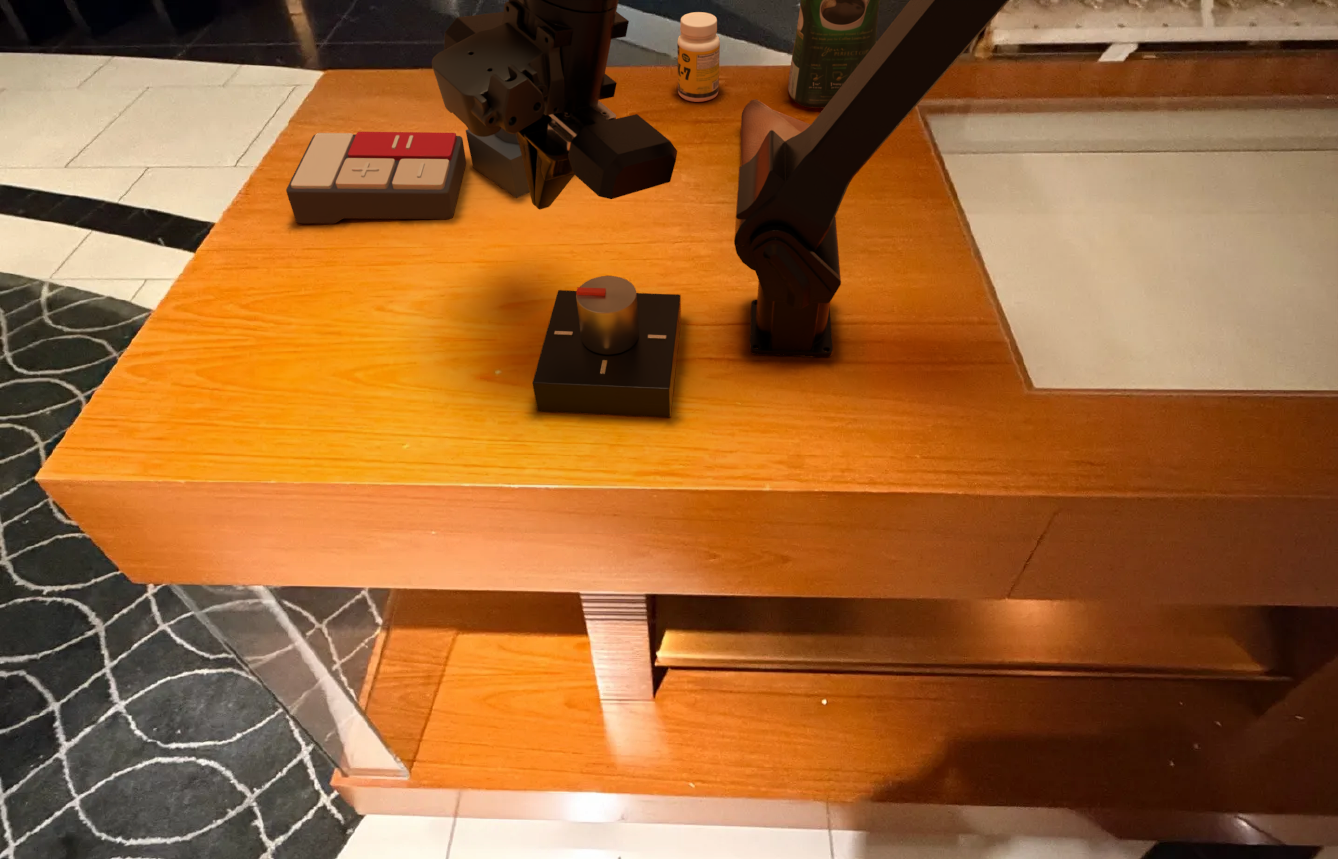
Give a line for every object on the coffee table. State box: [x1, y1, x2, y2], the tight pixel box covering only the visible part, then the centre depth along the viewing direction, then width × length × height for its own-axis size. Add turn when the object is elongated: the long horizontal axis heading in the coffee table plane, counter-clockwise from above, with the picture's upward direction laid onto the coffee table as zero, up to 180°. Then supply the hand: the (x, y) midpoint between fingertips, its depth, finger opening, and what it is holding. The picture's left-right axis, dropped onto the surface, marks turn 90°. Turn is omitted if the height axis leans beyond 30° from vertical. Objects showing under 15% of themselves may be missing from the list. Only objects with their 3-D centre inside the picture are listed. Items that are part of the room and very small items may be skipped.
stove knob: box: [575, 275, 639, 355], centre depth 64 cm, size 4×4×4 cm
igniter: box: [465, 128, 530, 199], centre depth 87 cm, size 8×10×6 cm
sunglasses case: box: [740, 99, 812, 167], centre depth 86 cm, size 18×7×7 cm
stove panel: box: [532, 289, 682, 418], centre depth 67 cm, size 11×10×3 cm
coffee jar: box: [787, 0, 881, 109], centre depth 92 cm, size 10×8×19 cm
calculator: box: [285, 131, 467, 225], centre depth 85 cm, size 11×4×15 cm
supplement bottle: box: [676, 11, 721, 103], centre depth 96 cm, size 5×5×8 cm
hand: (540, 206), depth 64 cm, fingers closed
